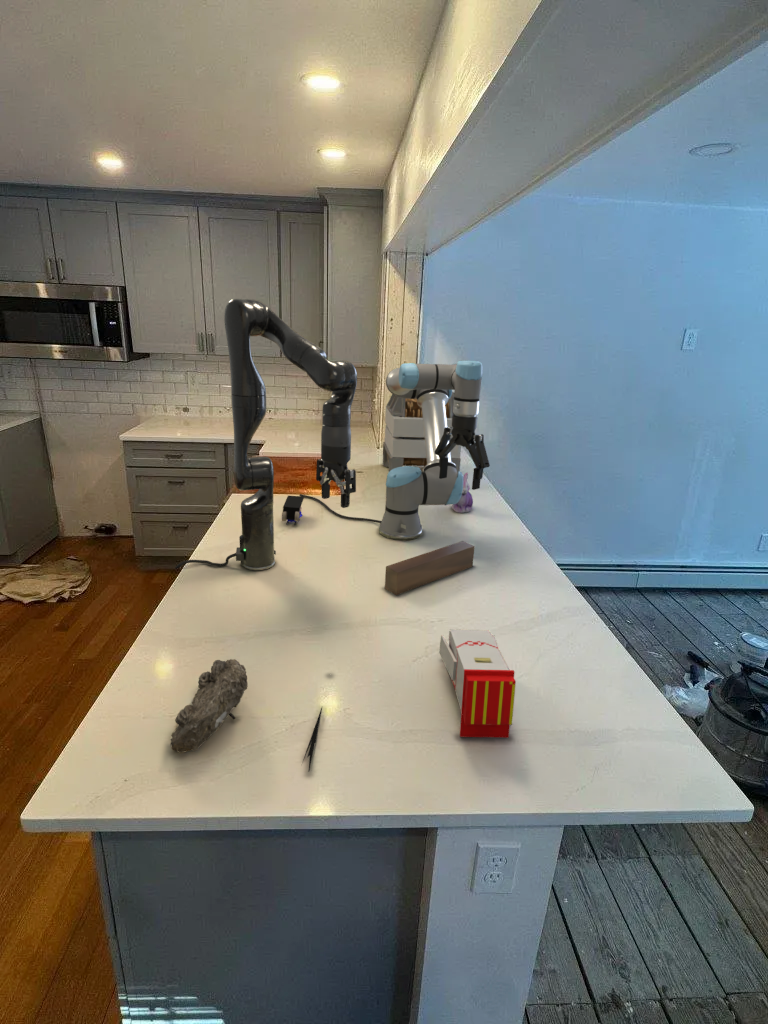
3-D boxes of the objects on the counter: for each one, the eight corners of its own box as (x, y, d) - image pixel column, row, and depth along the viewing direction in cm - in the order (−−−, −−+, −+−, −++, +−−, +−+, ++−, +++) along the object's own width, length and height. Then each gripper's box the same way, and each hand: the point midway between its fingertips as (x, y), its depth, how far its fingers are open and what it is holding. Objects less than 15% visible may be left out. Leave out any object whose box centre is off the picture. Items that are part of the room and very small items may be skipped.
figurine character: (300, 531, 202) (304, 512, 215) (299, 512, 198) (304, 494, 212) (281, 530, 201) (287, 511, 215) (280, 511, 198) (286, 493, 211)
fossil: (195, 660, 117) (247, 628, 112) (227, 691, 120) (279, 661, 115) (146, 746, 98) (206, 711, 93) (185, 779, 101) (245, 748, 96)
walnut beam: (384, 588, 161) (385, 566, 158) (460, 561, 180) (462, 540, 178) (396, 595, 157) (397, 572, 155) (472, 566, 177) (474, 545, 175)
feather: (331, 679, 122) (336, 673, 122) (307, 777, 96) (313, 769, 95) (324, 675, 122) (329, 669, 121) (298, 772, 95) (304, 764, 95)
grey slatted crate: (381, 463, 289) (385, 382, 275) (444, 464, 292) (450, 384, 279) (389, 482, 257) (393, 392, 243) (459, 483, 261) (467, 394, 247)
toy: (489, 613, 130) (525, 677, 101) (485, 667, 133) (518, 744, 104) (437, 612, 130) (457, 676, 101) (434, 666, 133) (453, 743, 103)
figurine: (459, 514, 221) (463, 477, 216) (445, 506, 229) (448, 470, 224) (479, 511, 225) (483, 475, 220) (464, 503, 234) (467, 468, 228)
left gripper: (308, 438, 146) (308, 497, 152) (340, 449, 136) (339, 513, 142) (331, 435, 151) (331, 493, 156) (365, 446, 141) (363, 507, 146)
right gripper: (426, 409, 175) (422, 475, 182) (489, 423, 157) (482, 495, 164) (443, 407, 179) (438, 472, 186) (506, 420, 162) (498, 491, 169)
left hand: (335, 502), depth 149 cm, fingers open, 8 cm apart
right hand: (458, 483), depth 175 cm, fingers open, 13 cm apart
